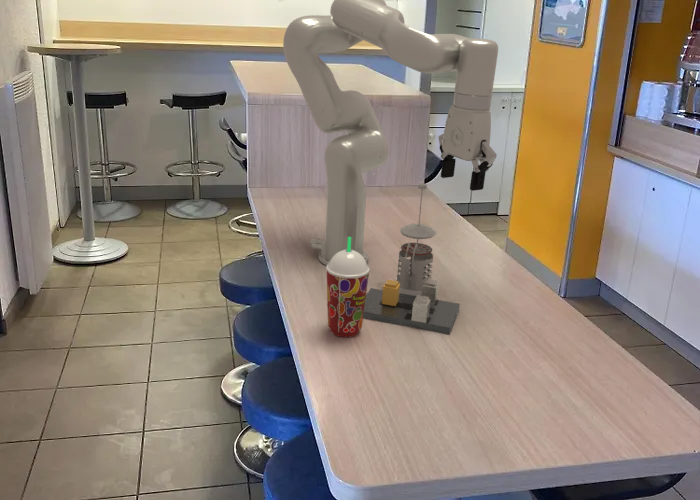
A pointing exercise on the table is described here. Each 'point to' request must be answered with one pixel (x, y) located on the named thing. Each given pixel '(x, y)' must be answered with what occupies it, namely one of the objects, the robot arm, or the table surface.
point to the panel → (399, 313)
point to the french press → (415, 257)
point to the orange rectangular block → (391, 293)
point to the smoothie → (346, 291)
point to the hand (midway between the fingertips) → (461, 183)
